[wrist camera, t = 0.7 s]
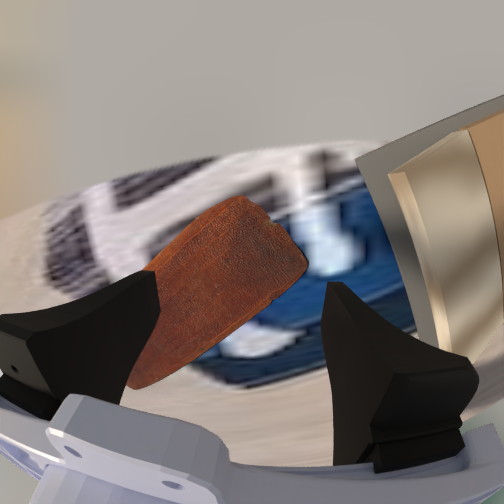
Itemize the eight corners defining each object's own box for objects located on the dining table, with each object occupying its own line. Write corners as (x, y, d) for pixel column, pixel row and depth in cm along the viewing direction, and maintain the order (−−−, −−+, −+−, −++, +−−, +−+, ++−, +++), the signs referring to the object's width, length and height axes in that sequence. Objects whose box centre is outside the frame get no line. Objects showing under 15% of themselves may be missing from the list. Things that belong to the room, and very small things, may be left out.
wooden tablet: (138, 388, 32) (133, 397, 31) (81, 332, 30) (73, 340, 29) (322, 273, 23) (324, 282, 22) (241, 176, 22) (237, 178, 20)
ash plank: (492, 318, 21) (503, 322, 19) (443, 377, 19) (455, 383, 18) (452, 132, 16) (467, 129, 15) (387, 174, 15) (404, 171, 14)
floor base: (550, 272, 19) (562, 281, 17) (423, 354, 24) (430, 370, 22) (516, 89, 14) (532, 87, 12) (354, 159, 19) (361, 160, 17)
